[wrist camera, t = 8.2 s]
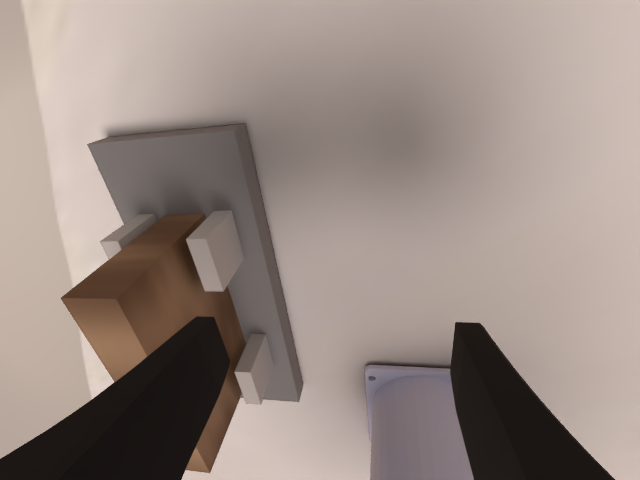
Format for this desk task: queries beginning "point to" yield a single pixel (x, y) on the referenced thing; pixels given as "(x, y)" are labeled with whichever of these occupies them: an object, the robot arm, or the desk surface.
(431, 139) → the desk surface
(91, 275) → the door panel
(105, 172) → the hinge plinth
